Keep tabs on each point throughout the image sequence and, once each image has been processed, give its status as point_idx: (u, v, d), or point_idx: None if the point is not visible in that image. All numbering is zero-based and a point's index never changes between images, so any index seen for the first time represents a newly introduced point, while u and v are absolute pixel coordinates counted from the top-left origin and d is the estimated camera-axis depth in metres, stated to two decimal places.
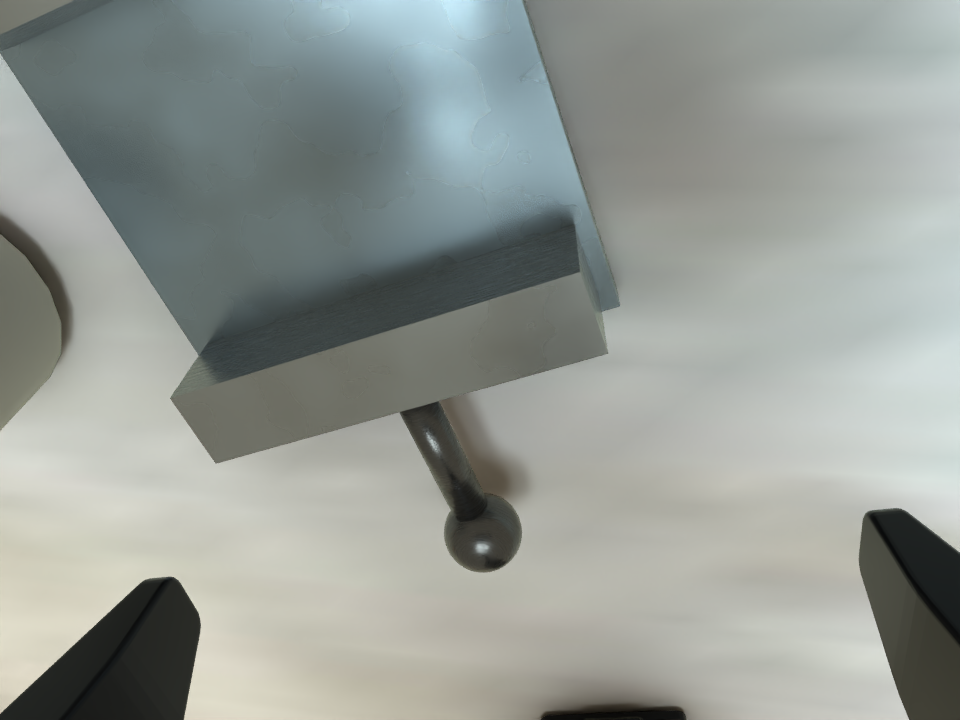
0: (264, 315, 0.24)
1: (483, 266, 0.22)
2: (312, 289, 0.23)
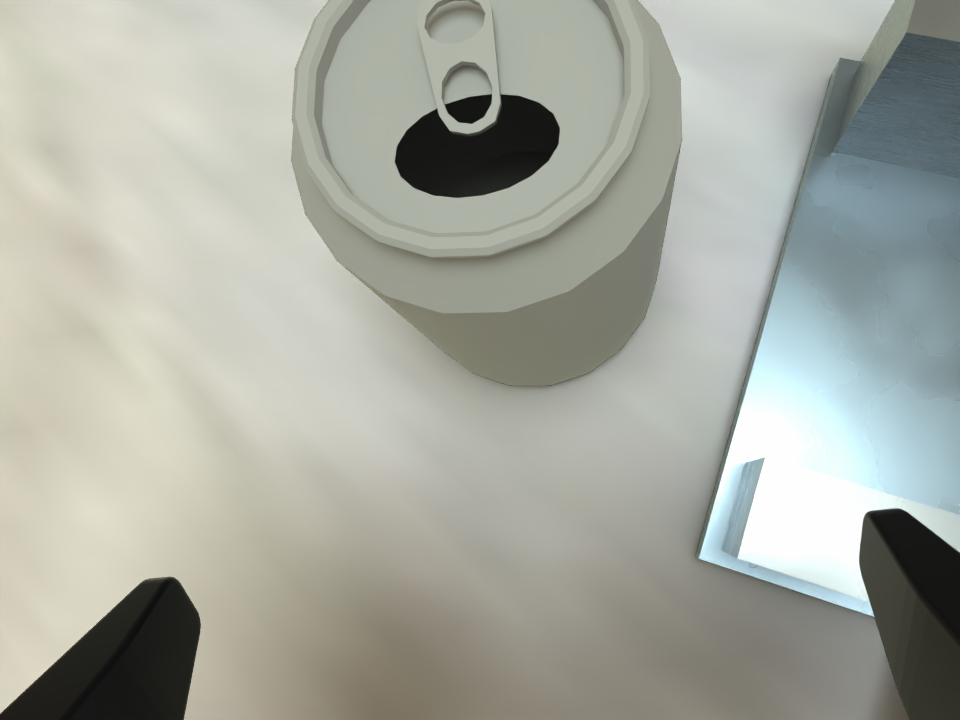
0: (832, 477, 0.21)
1: None
2: (904, 487, 0.21)
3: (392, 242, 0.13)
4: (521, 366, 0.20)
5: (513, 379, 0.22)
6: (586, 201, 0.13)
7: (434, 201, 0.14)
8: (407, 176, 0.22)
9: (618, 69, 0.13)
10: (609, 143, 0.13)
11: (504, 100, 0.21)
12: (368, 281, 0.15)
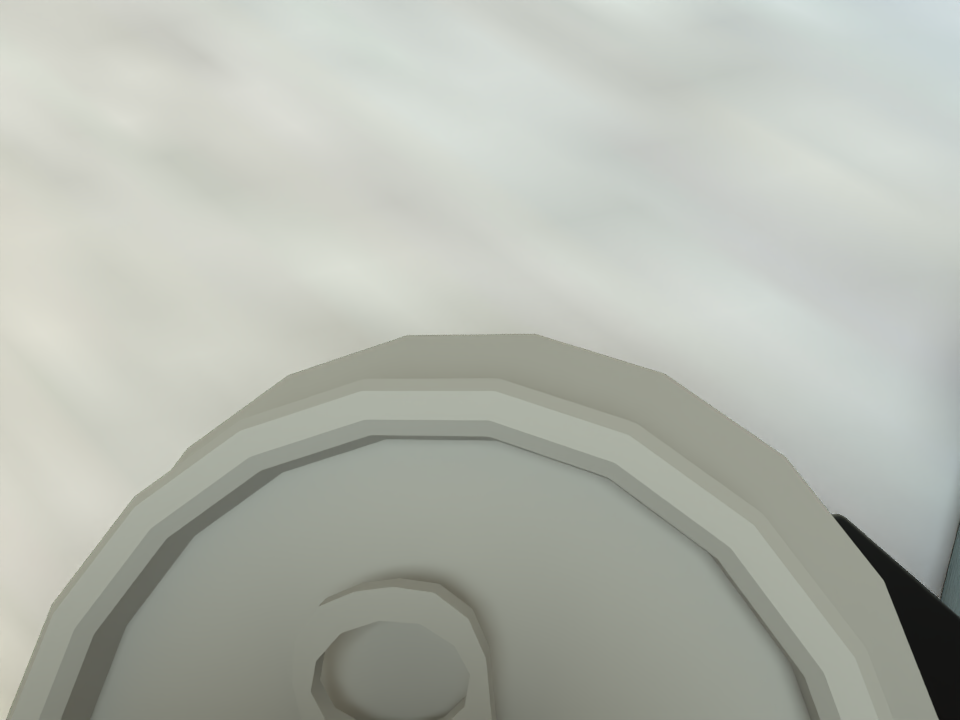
0: None
1: None
2: None
3: None
4: None
5: None
6: None
7: None
8: None
9: None
10: None
11: None
12: None
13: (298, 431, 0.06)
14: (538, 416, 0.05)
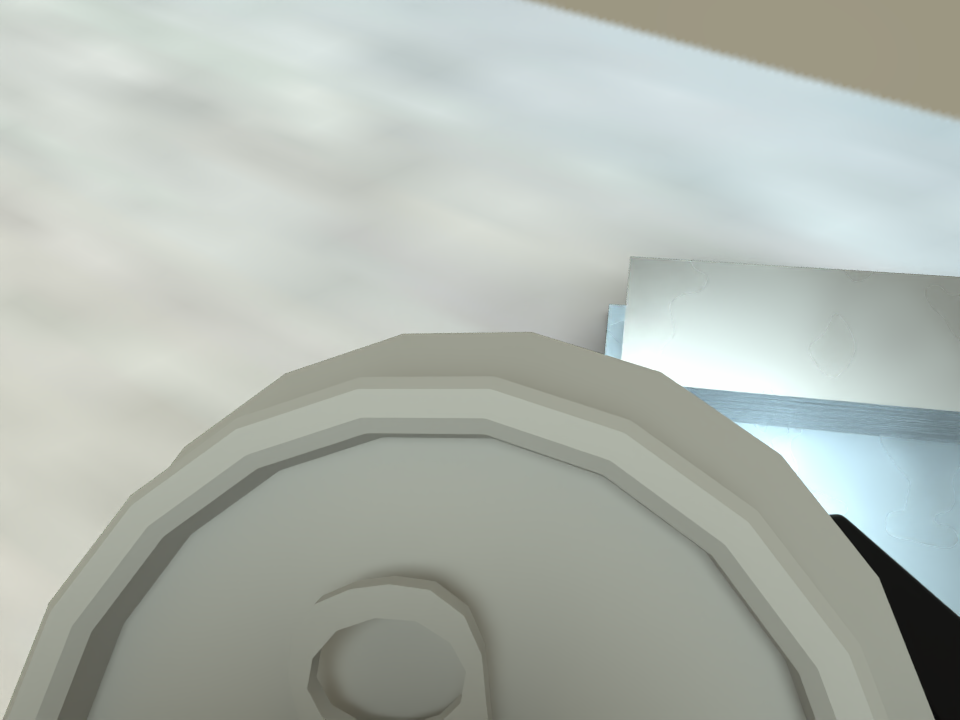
0: None
1: None
2: None
3: None
4: None
5: None
6: None
7: None
8: None
9: None
10: None
11: None
12: None
13: (294, 429, 0.06)
14: (533, 414, 0.05)
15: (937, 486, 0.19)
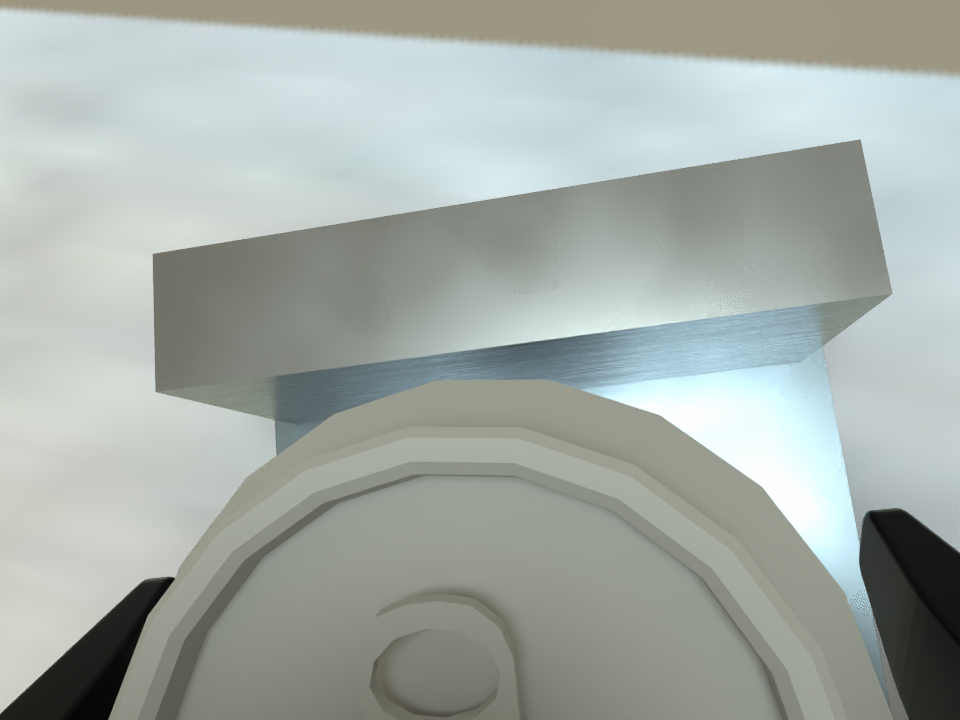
0: None
1: None
2: None
3: None
4: None
5: None
6: None
7: None
8: None
9: None
10: None
11: None
12: None
13: (354, 471, 0.07)
14: (554, 459, 0.06)
15: None
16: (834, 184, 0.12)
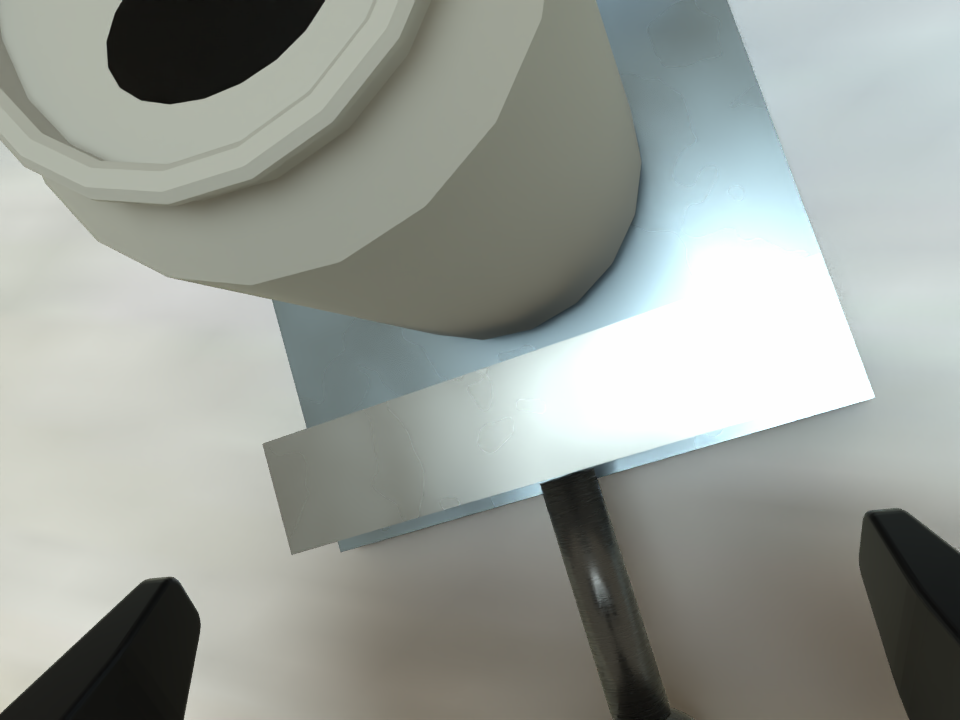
0: None
1: None
2: (463, 366, 0.19)
3: (109, 195, 0.08)
4: (466, 319, 0.15)
5: (477, 333, 0.17)
6: (382, 45, 0.07)
7: (172, 113, 0.08)
8: None
9: None
10: None
11: None
12: (141, 260, 0.10)
13: None
14: None
15: None
16: None
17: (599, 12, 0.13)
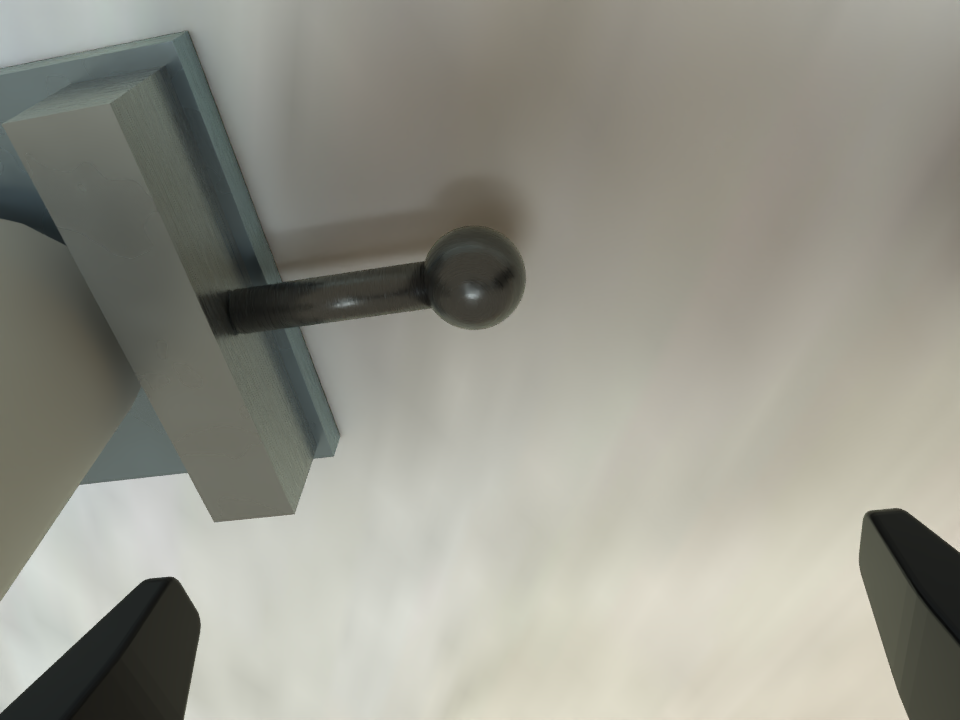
0: None
1: None
2: None
3: None
4: (77, 402, 0.19)
5: (123, 365, 0.21)
6: None
7: None
8: None
9: None
10: None
11: None
12: None
13: None
14: None
15: None
16: None
17: None
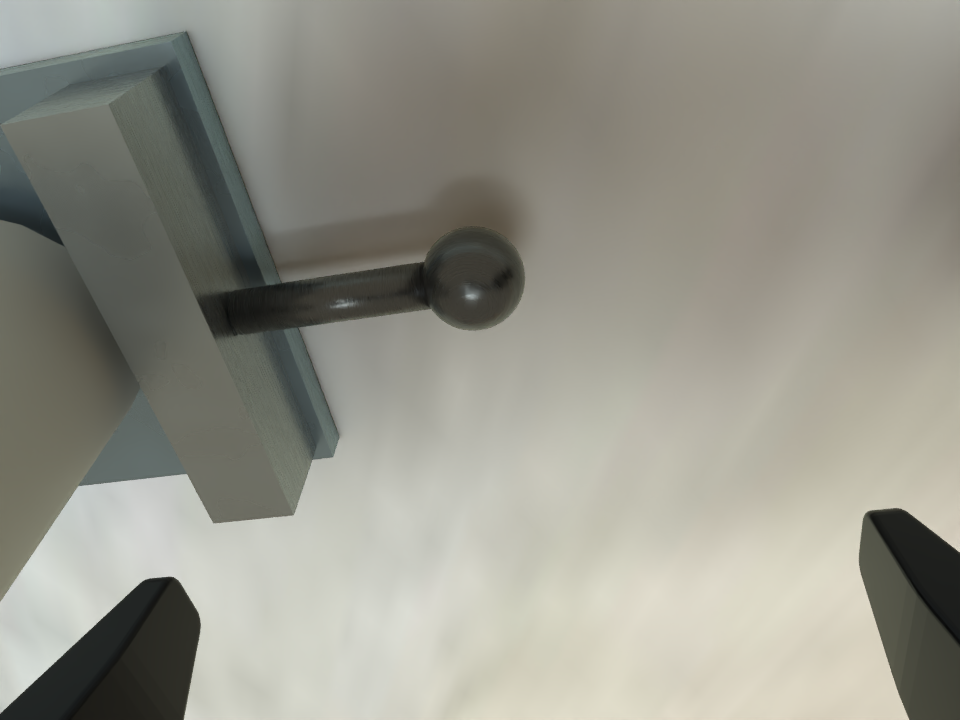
0: None
1: None
2: None
3: None
4: (76, 403, 0.19)
5: (122, 366, 0.21)
6: None
7: None
8: None
9: None
10: None
11: None
12: None
13: None
14: None
15: None
16: None
17: None
